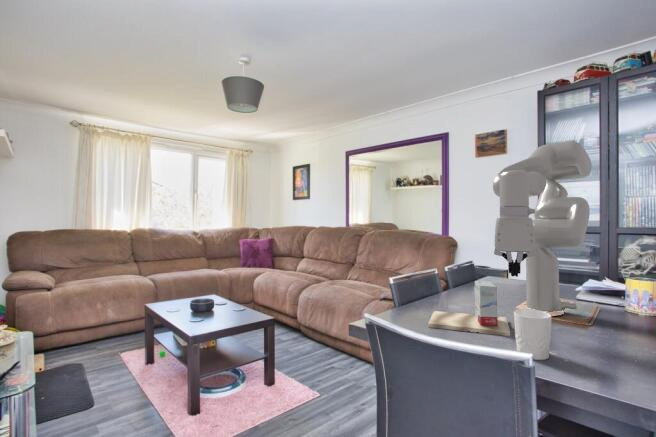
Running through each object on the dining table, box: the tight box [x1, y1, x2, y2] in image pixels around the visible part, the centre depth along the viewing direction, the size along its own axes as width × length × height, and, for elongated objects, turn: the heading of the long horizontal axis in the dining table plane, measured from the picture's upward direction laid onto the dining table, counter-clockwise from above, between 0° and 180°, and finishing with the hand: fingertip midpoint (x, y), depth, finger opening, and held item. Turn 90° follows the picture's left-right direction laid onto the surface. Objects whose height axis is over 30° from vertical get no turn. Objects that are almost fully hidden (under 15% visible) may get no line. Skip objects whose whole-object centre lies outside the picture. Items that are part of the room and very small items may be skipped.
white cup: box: [513, 308, 553, 361], centre depth 83 cm, size 8×8×10 cm
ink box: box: [474, 280, 498, 326], centre depth 104 cm, size 9×5×12 cm, turn 166°
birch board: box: [428, 310, 511, 337], centre depth 106 cm, size 22×14×1 cm, turn 66°
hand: (514, 275), depth 100 cm, fingers closed
